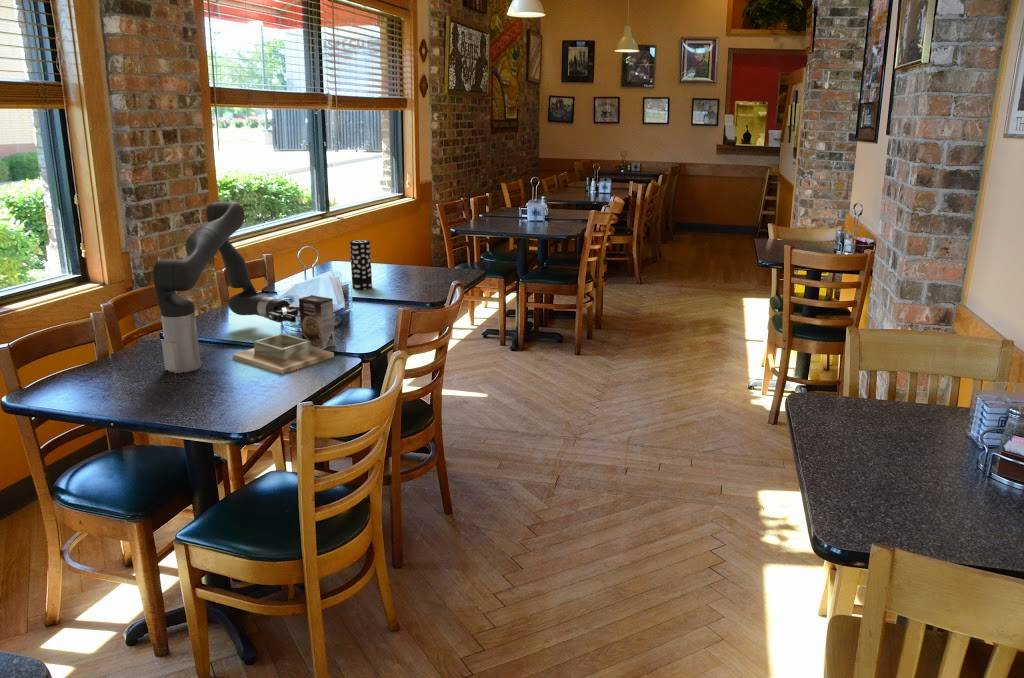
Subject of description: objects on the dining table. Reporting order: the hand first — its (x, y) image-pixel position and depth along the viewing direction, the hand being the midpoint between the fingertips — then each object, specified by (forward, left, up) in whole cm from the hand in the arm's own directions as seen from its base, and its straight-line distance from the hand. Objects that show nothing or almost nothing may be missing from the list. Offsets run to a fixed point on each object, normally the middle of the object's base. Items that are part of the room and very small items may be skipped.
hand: (305, 316), depth 261 cm
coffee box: (0, -6, -9) cm, 11 cm away
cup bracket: (-15, -7, -9) cm, 19 cm away
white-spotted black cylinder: (+65, +42, -9) cm, 78 cm away
